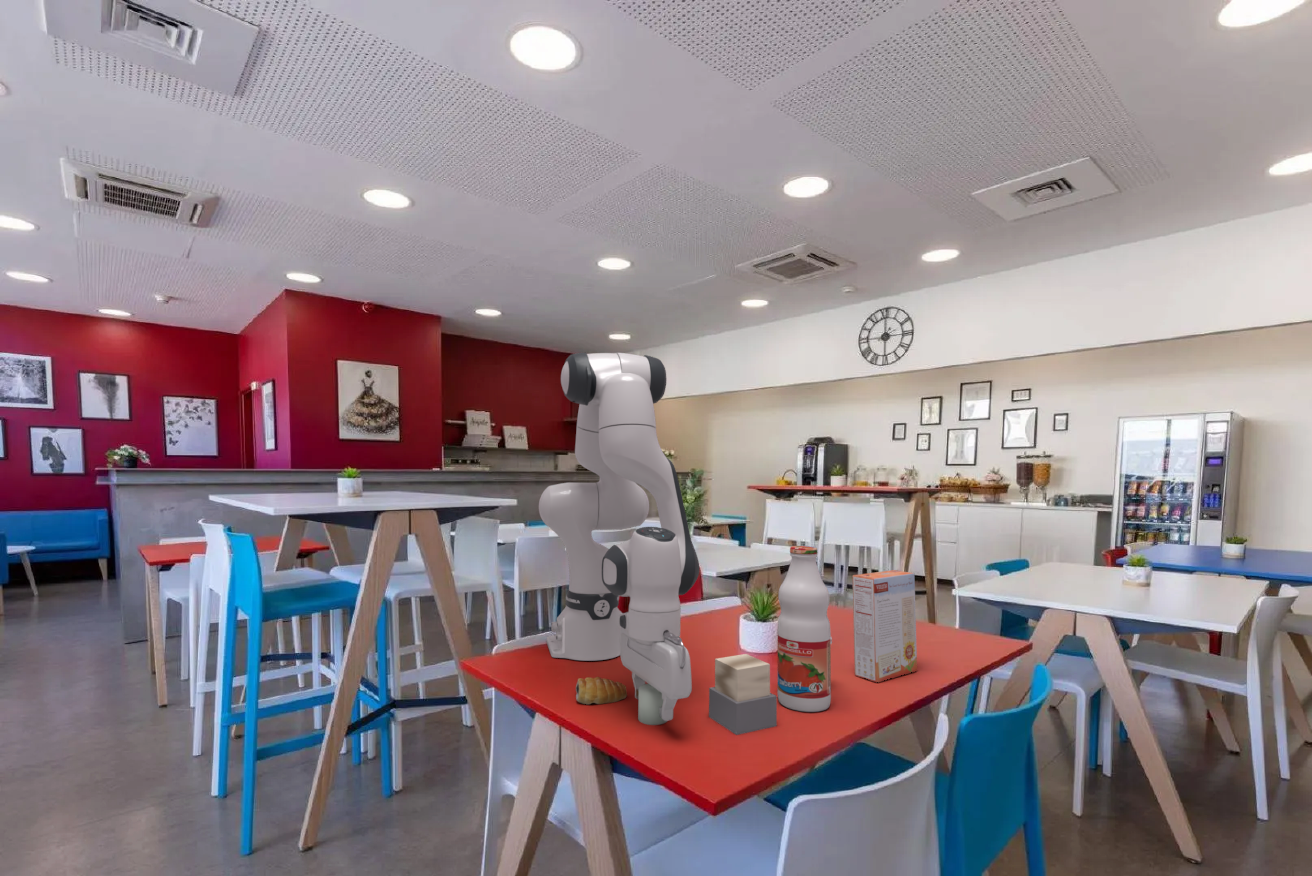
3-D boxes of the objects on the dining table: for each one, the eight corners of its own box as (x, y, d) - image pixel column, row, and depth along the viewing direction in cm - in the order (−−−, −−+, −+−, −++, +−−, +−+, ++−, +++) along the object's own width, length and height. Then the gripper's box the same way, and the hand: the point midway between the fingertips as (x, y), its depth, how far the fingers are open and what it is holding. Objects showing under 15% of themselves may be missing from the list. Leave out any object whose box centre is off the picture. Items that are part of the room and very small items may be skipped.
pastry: (623, 691, 114) (623, 670, 114) (629, 704, 107) (630, 682, 107) (573, 694, 112) (574, 673, 112) (577, 708, 105) (578, 686, 105)
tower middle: (715, 689, 101) (715, 658, 102) (746, 683, 104) (746, 653, 105) (737, 701, 96) (737, 669, 96) (769, 695, 99) (769, 664, 99)
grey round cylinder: (633, 716, 101) (633, 685, 102) (659, 711, 104) (660, 681, 104) (646, 727, 97) (646, 695, 97) (673, 722, 99) (673, 691, 99)
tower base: (708, 718, 101) (709, 687, 102) (747, 710, 105) (747, 681, 105) (736, 736, 94) (736, 703, 95) (776, 727, 98) (776, 696, 98)
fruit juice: (840, 703, 108) (839, 547, 110) (813, 718, 102) (812, 551, 104) (795, 690, 115) (795, 543, 117) (767, 702, 108) (767, 546, 110)
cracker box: (893, 665, 132) (892, 569, 133) (918, 672, 127) (916, 572, 128) (851, 675, 124) (851, 573, 126) (876, 684, 119) (875, 577, 121)
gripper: (702, 637, 93) (701, 729, 93) (645, 611, 112) (644, 687, 111) (666, 642, 91) (664, 736, 90) (614, 614, 109) (612, 692, 108)
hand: (653, 708), depth 100 cm, fingers open, 8 cm apart
